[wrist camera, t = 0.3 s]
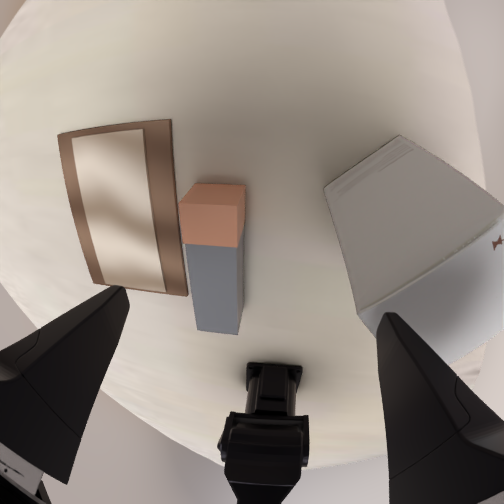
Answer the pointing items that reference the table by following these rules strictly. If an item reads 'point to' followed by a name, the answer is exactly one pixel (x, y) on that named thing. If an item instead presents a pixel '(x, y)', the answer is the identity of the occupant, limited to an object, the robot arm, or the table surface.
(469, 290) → the supplement box
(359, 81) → the table surface
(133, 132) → the writing board
